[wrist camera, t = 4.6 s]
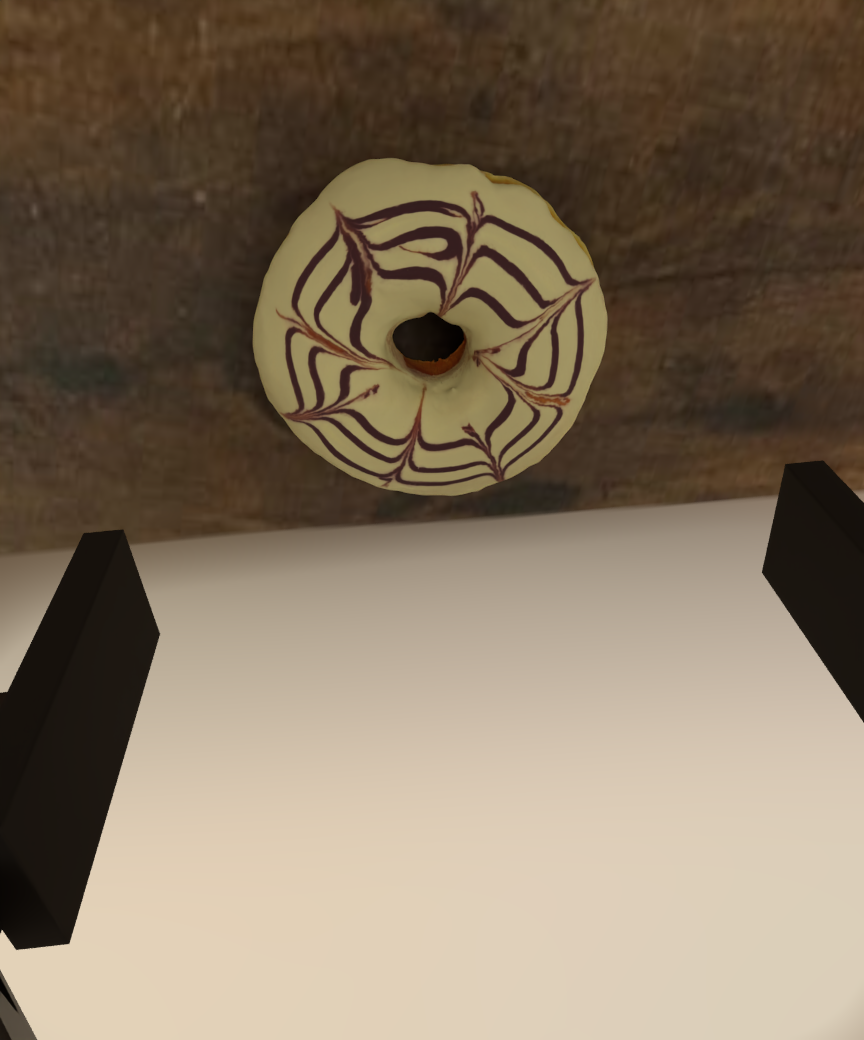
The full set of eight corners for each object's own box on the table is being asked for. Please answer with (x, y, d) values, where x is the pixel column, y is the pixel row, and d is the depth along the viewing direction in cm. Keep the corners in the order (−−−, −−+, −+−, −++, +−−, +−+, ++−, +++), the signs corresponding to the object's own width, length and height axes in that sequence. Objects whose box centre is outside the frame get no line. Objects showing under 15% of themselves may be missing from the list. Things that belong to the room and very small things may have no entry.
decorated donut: (304, 95, 23) (296, 114, 20) (637, 211, 25) (676, 245, 22) (236, 411, 28) (221, 466, 25) (517, 481, 31) (534, 539, 28)
